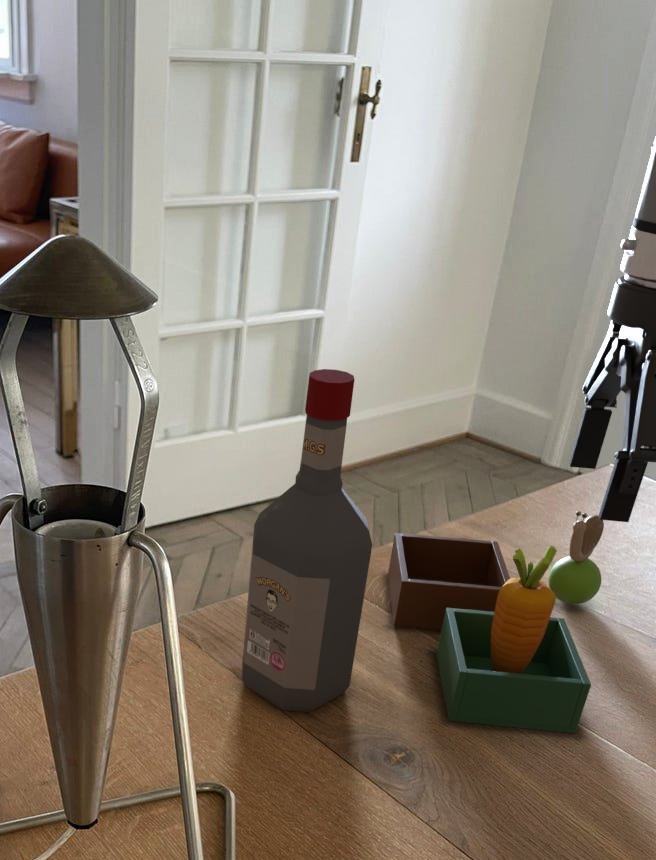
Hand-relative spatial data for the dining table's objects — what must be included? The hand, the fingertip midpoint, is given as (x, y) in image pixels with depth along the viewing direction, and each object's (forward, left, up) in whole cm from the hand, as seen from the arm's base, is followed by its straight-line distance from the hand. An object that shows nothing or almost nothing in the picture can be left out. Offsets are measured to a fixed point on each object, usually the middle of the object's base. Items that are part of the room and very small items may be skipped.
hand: (596, 491), depth 101 cm
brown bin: (+14, +3, -13) cm, 19 cm away
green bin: (+10, +19, -13) cm, 25 cm away
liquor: (+30, +21, -14) cm, 39 cm away
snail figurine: (0, 0, -14) cm, 14 cm away
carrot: (+10, +19, -13) cm, 25 cm away
